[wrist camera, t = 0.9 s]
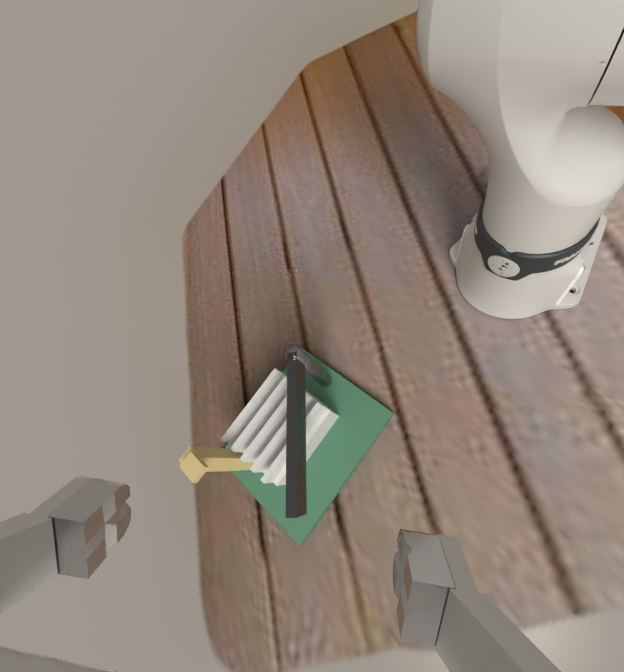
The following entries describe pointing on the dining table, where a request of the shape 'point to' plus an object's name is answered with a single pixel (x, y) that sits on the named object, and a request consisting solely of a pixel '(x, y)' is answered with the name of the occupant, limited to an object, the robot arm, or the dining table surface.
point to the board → (270, 445)
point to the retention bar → (298, 426)
